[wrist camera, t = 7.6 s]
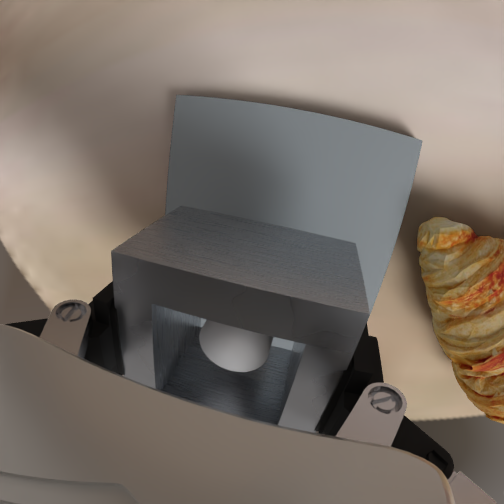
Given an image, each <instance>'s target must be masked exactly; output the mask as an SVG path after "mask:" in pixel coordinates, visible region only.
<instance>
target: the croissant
mask: <svg viewBox="0 0 504 504" xmlns="http://www.w3.org/2000/svg"><path fill="white" fill-rule="evenodd" d="M417 250H418V251H419V252H421V254H420V257H419V265H420V266H421V271H422V273H421V276H422V279H423V281H424V283H425V286H426V295H427V300H428V304H429V306H430V307H431V313H432V316H433V319H432V322H433V328H434V332H435V334H436V336H437V339H438V341H439V343H440V345H441V347H442V349H443V351H444V352H445V354H446V355H447V356H448V358H450V359H451V360H452V367H453V371H454V374H455V377H456V379H457V382H458V383H459V385H460V387H461V388H462V389H463V391H464V392H465V393H466V394H467V397H468V399H469V400H470V401H472V402H473V404H474V405H475V406H476V407H477V408H478V409H480V410H481V411H483V412H484V413H485V414H486V417H488V418H489V419H491V420H494V421H497V422H500V423H502V424H504V239H498V238H492V237H490V236H479V237H478V236H477V235H476V234H475V232H474V231H473V229H472V228H470V227H469V226H467V225H465V224H462V223H457V222H453V221H450V220H449V219H447V218H446V217H434V218H432V219H430V220H429V221H426V222H423V223H422V224H421V225H420V226H419V230H418V237H417Z"/></svg>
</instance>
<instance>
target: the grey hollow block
mask: <svg viewBox="0 0 504 504" xmlns="http://www.w3.org/2000/svg"><path fill="white" fill-rule="evenodd" d="M111 256H112V275H113V290H114V302H115V308H116V309H117V315H118V325H119V335H120V343H121V351H122V359H123V366H124V373H125V375H123V376H124V377H127V378H129V379H132V380H134V381H137V382H139V383H142V384H145V385H147V386H150V387H152V388H155V389H158V390H161V391H163V392H166V393H169V394H172V395H175V396H178V397H181V398H184V399H187V400H190V401H193V402H196V403H199V404H202V405H205V406H209V407H212V408H215V409H219V410H222V411H225V412H229V413H233V414H236V415H240V416H243V417H247V418H251V419H255V420H259V421H263V422H267V423H271V424H276V425H280V426H285V427H289V428H294V429H299V430H304V431H309V432H314V433H316V431H314V430H315V428H316V426H317V424H318V422H319V420H320V419H321V417H322V415H323V413H324V411H325V409H326V407H327V405H328V403H329V401H330V398H331V396H332V394H333V392H334V390H335V388H336V386H337V384H338V382H339V379H340V377H341V375H342V373H343V371H344V370H347V368H348V365H349V363H350V361H351V359H352V356H353V354H354V352H355V349H356V347H357V345H358V342H359V340H360V338H361V335H362V333H363V330H364V328H365V325H366V323H367V320H368V318H369V315H370V311H369V306H368V300H367V295H366V290H365V285H364V279H363V275H362V270H361V265H360V260H359V256H358V251H357V247H356V243H353V242H349V241H345V240H341V239H336V238H332V237H328V236H323V235H319V234H315V233H310V232H306V231H301V230H297V229H292V228H288V227H283V226H279V225H274V224H269V223H265V222H260V221H255V220H251V219H246V218H241V217H236V216H232V215H227V214H222V213H217V212H212V211H207V210H202V209H197V208H192V207H187V206H182V205H181V206H179V207H178V208H176V209H174V210H173V211H171V212H170V213H168V214H167V215H165V216H163V217H162V218H160V219H159V220H157V221H156V222H154V223H153V224H151V225H149V226H148V227H146V228H145V229H143V230H142V231H140V232H139V233H137V234H136V235H134V236H133V237H131V238H130V239H128V240H127V241H125V242H124V243H122V244H121V245H119V246H118V247H116V248H115V249H113V250H112V251H111ZM201 318H203V319H206V320H210V321H214V322H217V323H221V324H225V325H228V326H232V327H236V328H240V329H244V330H248V331H252V332H256V333H260V334H264V335H268V336H272V337H276V338H281V339H285V340H289V341H294V344H293V347H292V350H288V349H284V348H280V347H275V346H271V348H270V352H269V355H268V358H267V360H266V362H265V363H264V364H263V365H262V366H261V367H259V368H257V369H255V370H252V371H248V372H235V371H230V370H227V369H224V368H222V367H220V366H218V365H217V364H215V363H214V362H212V361H211V360H210V359H209V358H208V357H207V356H206V354H205V353H204V352H203V350H202V348H201V345H200V340H199V335H200V331H201V329H202V327H201Z"/></svg>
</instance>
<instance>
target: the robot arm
mask: <svg viewBox="0 0 504 504" xmlns="http://www.w3.org/2000/svg"><path fill="white" fill-rule="evenodd" d="M122 375H125V373H124V366H123V359H122V351H121V343H120V335H119V325H118V315H117V309H116V308H115V302H114V290H113V281H112V282H111V283H110V284H109V285H108V286H106V287H105V288H104V289H103V290H102V291H100V292H99V293H98V294H97V295H96V296H95V297H93V301H92V302H91V303H89V304H87V303H86V302H83V301H81V300H67V301H63V302H61V303H59V304H57V305H56V306H55V307H54V308H53V310H52V312H51V314H50V316H49V318H48V319H41V320H33V321H26V322H19V323H11V324H6V325H1V324H0V504H497V503H496V502H495V500H494V499H492V498H491V497H490V496H489V495H488V494H486V493H485V492H484V491H483V490H481V488H479V487H478V486H477V485H476V484H475V483H474V482H472V481H471V480H470V479H469V478H468V477H466V476H465V475H464V474H463V473H462V472H461V471H460V472H459V473H458V474H457V473H456V472H454V471H453V469H454V464H453V460H452V458H451V456H450V454H449V453H448V452H447V451H446V450H445V449H444V448H442V447H441V446H440V445H439V444H438V443H436V442H435V441H434V440H433V439H432V438H430V437H429V436H428V435H427V434H425V432H423V431H422V430H421V429H420V428H419V427H417V426H416V425H415V424H414V423H413V422H411V421H410V420H409V419H408V418H407V417H406V416H404V414H405V411H406V407H407V402H406V398H405V396H404V395H403V393H402V392H401V391H400V390H399V389H397V388H396V387H394V386H392V385H390V384H387V383H384V381H383V374H382V366H381V360H380V353H379V347H378V341H377V338H376V337H373V336H369V335H368V328H367V323H366V325H365V328H364V330H363V333H362V335H361V338H360V340H359V342H358V345H357V347H356V349H355V352H354V354H353V356H352V359H351V361H350V363H349V365H348V368H347V370H344V371H343V373H342V375H341V377H340V379H339V382H338V384H337V386H336V388H335V390H334V392H333V394H332V396H331V398H330V401H329V403H328V405H327V407H326V409H325V411H324V413H323V415H322V417H321V419H320V420H319V422H318V424H317V426H316V428H315V430H314V431H319V433H314V432H309V431H304V430H299V429H294V428H289V427H285V426H280V425H276V424H271V423H267V422H263V421H259V420H255V419H251V418H247V417H243V416H240V415H236V414H233V413H229V412H225V411H222V410H219V409H215V408H212V407H209V406H205V405H202V404H199V403H196V402H193V401H190V400H187V399H184V398H181V397H178V396H175V395H172V394H169V393H166V392H163V391H161V390H158V389H155V388H152V387H150V386H147V385H145V384H142V383H139V382H137V381H134V380H132V379H129V378H127V377H124V376H122Z"/></svg>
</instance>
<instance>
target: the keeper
mask: <svg viewBox="0 0 504 504" xmlns="http://www.w3.org/2000/svg"><path fill="white" fill-rule="evenodd" d="M421 146H422V140H419V139H416V138H412V137H409V136H406V135H403V134H399V133H396V132H392V131H389V130H385V129H382V128H378V127H374V126H371V125H367V124H363V123H359V122H355V121H351V120H347V119H342V118H338V117H333V116H329V115H324V114H319V113H314V112H309V111H304V110H299V109H293V108H288V107H282V106H276V105H269V104H263V103H256V102H248V101H240V100H232V99H223V98H213V97H202V96H189V95H176V103H175V111H174V119H173V128H172V137H171V147H170V158H169V169H168V182H167V196H166V212H165V215H167V214H168V213H170V212H171V211H173V210H174V209H176V208H178V207H179V206H181V205H182V206H187V207H192V208H197V209H202V210H207V211H212V212H217V213H222V214H227V215H232V216H236V217H241V218H246V219H251V220H255V221H260V222H265V223H269V224H274V225H279V226H283V227H288V228H292V229H297V230H301V231H306V232H310V233H315V234H319V235H323V236H328V237H332V238H336V239H341V240H345V241H349V242H353V243H356V247H357V251H358V256H359V260H360V265H361V270H362V275H363V279H364V285H365V290H366V295H367V300H368V306H369V311H370V313H371V310H372V308H373V305H374V303H375V300H376V297H377V295H378V292H379V289H380V287H381V284H382V281H383V278H384V276H385V273H386V270H387V267H388V264H389V261H390V258H391V255H392V252H393V249H394V246H395V243H396V240H397V236H398V233H399V230H400V227H401V223H402V220H403V217H404V213H405V210H406V206H407V202H408V199H409V195H410V191H411V187H412V184H413V180H414V176H415V172H416V167H417V163H418V159H419V155H420V150H421ZM369 316H370V315H369ZM367 321H368V320H367ZM201 327H202V329H201V331H200V335H199V340H200V345H201V348H202V350H203V352H204V353H205V354H206V356H207V357H208V358H209V359H210V360H211V361H212V362H214V363H215V364H217V365H218V366H220V367H222V368H224V369H227V370H230V371H235V372H248V371H252V370H255V369H257V368H259V367H261V366H262V365H263V364H264V363H265V362H266V360H267V358H268V355H269V352H270V348H271V346H275V347H280V348H284V349H288V350H292V347H293V344H294V341H289V340H285V339H281V338H276V337H272V336H268V335H264V334H260V333H256V332H252V331H248V330H244V329H240V328H236V327H232V326H228V325H225V324H221V323H217V322H214V321H210V320H206V319H203V318H201Z"/></svg>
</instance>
